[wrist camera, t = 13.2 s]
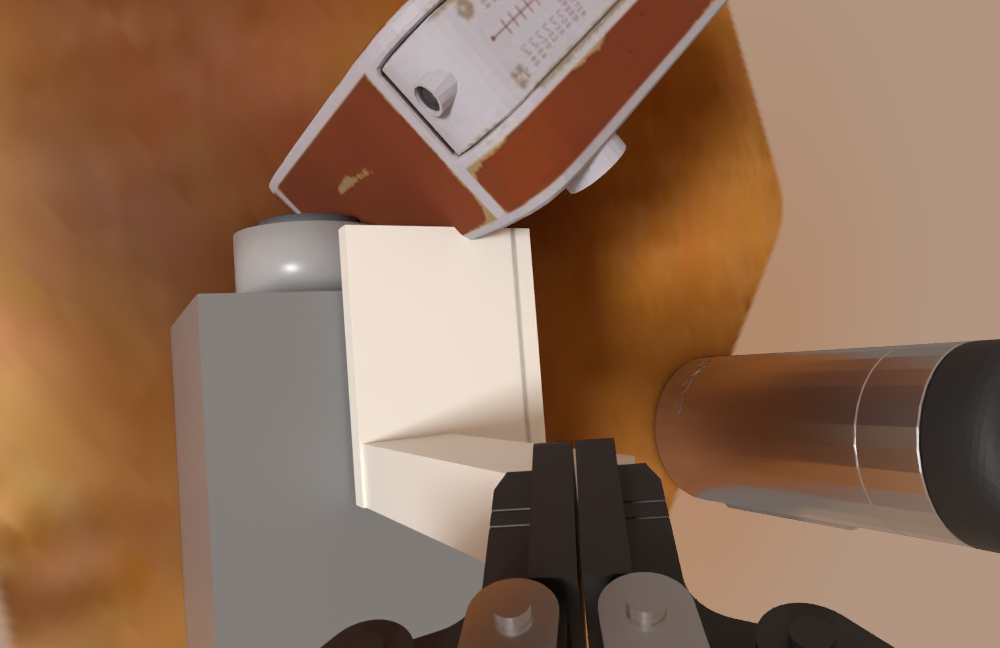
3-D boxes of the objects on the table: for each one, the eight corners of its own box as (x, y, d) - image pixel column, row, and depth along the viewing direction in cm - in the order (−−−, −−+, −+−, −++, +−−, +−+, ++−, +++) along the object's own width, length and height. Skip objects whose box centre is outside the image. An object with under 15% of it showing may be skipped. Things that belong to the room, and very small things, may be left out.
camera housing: (166, 252, 34) (191, 180, 23) (375, 252, 39) (483, 193, 27) (188, 682, 33) (226, 837, 22) (400, 630, 38) (524, 734, 26)
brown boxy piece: (576, 89, 46) (866, -103, 28) (371, 312, 38) (587, 243, 21) (476, -34, 43) (726, -331, 25) (236, 180, 36) (351, -27, 18)
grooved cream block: (270, 280, 35) (481, 123, 15) (404, 278, 38) (732, 146, 18) (281, 469, 35) (515, 579, 14) (417, 452, 38) (767, 521, 17)
